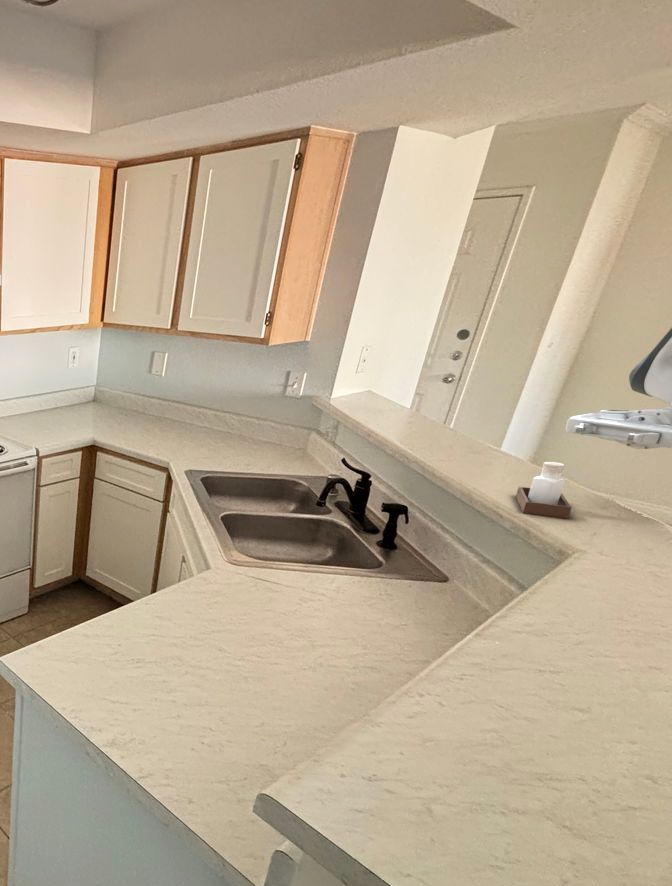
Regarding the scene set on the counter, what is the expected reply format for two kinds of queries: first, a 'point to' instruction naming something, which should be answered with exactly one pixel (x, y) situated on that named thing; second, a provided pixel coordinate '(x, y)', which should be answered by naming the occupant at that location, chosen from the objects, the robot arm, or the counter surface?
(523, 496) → the tray
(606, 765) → the counter surface
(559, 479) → the pepper shaker
